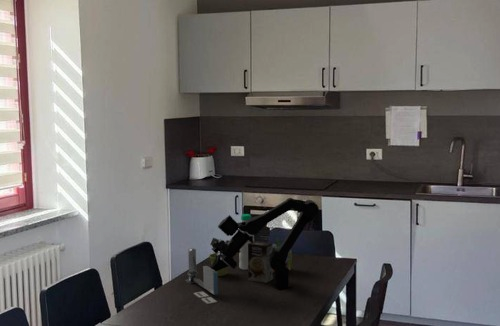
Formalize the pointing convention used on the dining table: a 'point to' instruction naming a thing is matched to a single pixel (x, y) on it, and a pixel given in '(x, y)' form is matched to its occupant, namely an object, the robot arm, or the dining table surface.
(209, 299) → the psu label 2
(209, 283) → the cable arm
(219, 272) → the plant pot
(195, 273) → the post
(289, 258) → the chalk box
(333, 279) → the dining table surface
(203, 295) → the psu label
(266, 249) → the coffee box
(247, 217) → the water bottle
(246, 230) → the robot arm
